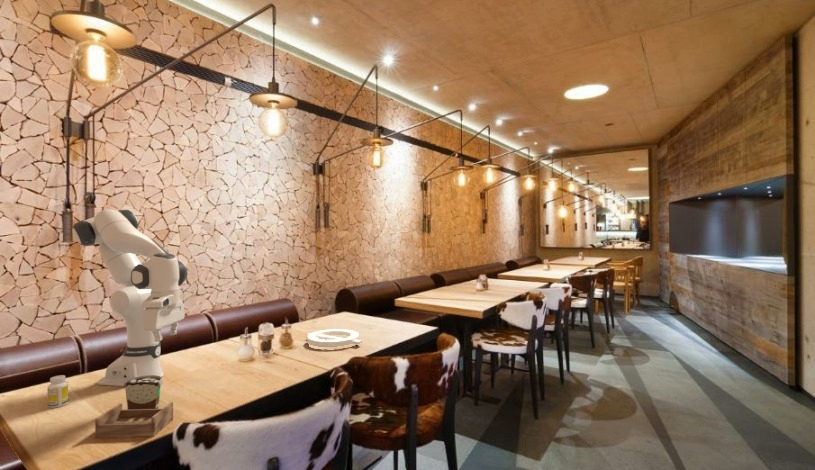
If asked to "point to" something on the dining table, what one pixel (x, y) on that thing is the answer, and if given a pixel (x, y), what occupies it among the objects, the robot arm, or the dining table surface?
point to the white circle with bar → (333, 338)
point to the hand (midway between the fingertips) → (166, 337)
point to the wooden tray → (132, 422)
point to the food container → (143, 392)
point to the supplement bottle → (57, 392)
